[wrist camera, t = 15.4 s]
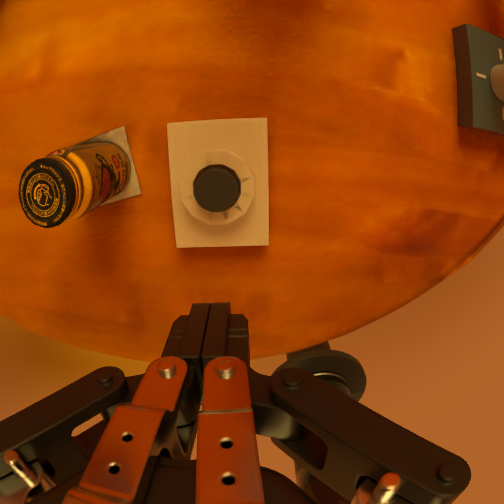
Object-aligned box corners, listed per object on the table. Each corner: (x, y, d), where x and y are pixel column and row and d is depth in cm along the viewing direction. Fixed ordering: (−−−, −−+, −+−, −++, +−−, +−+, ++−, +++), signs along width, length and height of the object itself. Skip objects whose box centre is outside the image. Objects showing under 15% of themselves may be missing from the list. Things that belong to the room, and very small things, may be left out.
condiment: (142, 193, 31) (89, 228, 20) (76, 213, 32) (13, 252, 21) (124, 125, 29) (62, 128, 18) (59, 151, 29) (-13, 169, 18)
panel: (513, 138, 28) (529, 141, 25) (457, 125, 28) (473, 126, 25) (509, 50, 24) (524, 48, 21) (451, 28, 24) (466, 22, 21)
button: (238, 206, 28) (237, 211, 27) (198, 208, 28) (194, 213, 27) (237, 166, 27) (236, 168, 25) (195, 168, 27) (192, 170, 25)
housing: (267, 238, 33) (270, 252, 30) (181, 240, 33) (172, 254, 30) (266, 118, 29) (268, 116, 25) (172, 123, 29) (161, 123, 25)
